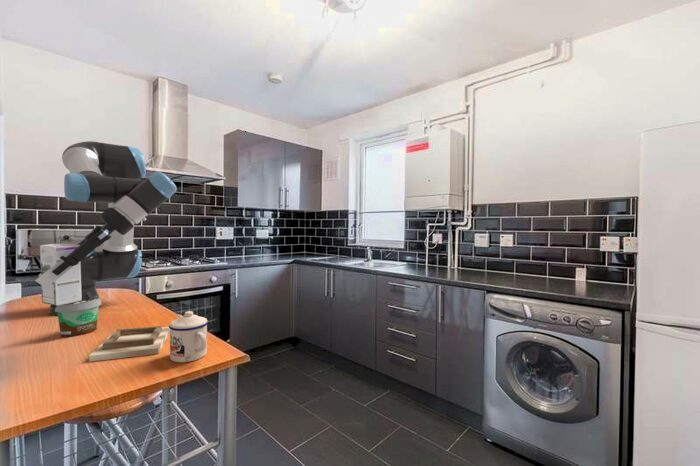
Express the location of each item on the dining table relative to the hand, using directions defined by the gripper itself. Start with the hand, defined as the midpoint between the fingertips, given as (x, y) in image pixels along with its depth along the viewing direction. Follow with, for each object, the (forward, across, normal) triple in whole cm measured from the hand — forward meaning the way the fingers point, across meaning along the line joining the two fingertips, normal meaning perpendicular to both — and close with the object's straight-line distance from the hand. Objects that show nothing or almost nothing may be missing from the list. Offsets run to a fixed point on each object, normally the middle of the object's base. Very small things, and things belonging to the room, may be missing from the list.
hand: (42, 281), depth 77 cm
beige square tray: (+1, +1, -28) cm, 28 cm away
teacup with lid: (-6, -18, -35) cm, 40 cm away
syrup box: (+2, 0, -6) cm, 7 cm away
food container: (+9, +22, -20) cm, 31 cm away
